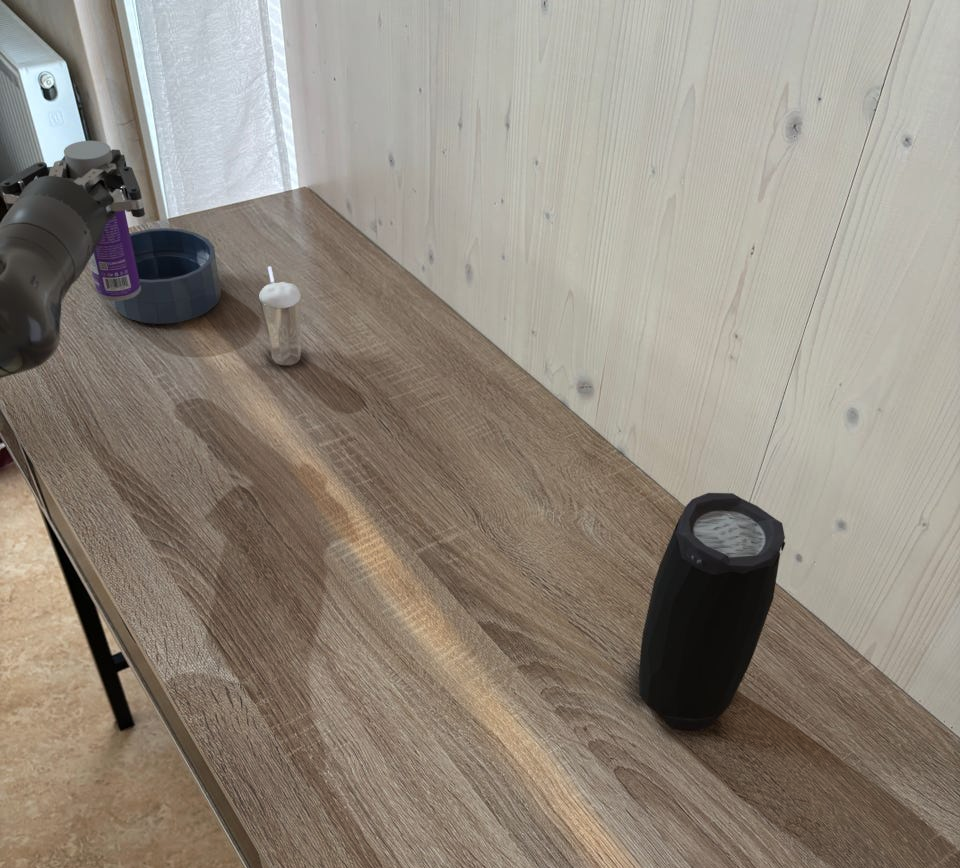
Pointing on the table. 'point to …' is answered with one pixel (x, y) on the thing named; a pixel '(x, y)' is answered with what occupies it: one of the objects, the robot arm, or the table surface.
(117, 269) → the container
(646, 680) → the portable speaker
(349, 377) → the table surface
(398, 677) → the table surface
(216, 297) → the bowl
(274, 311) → the milkshake
